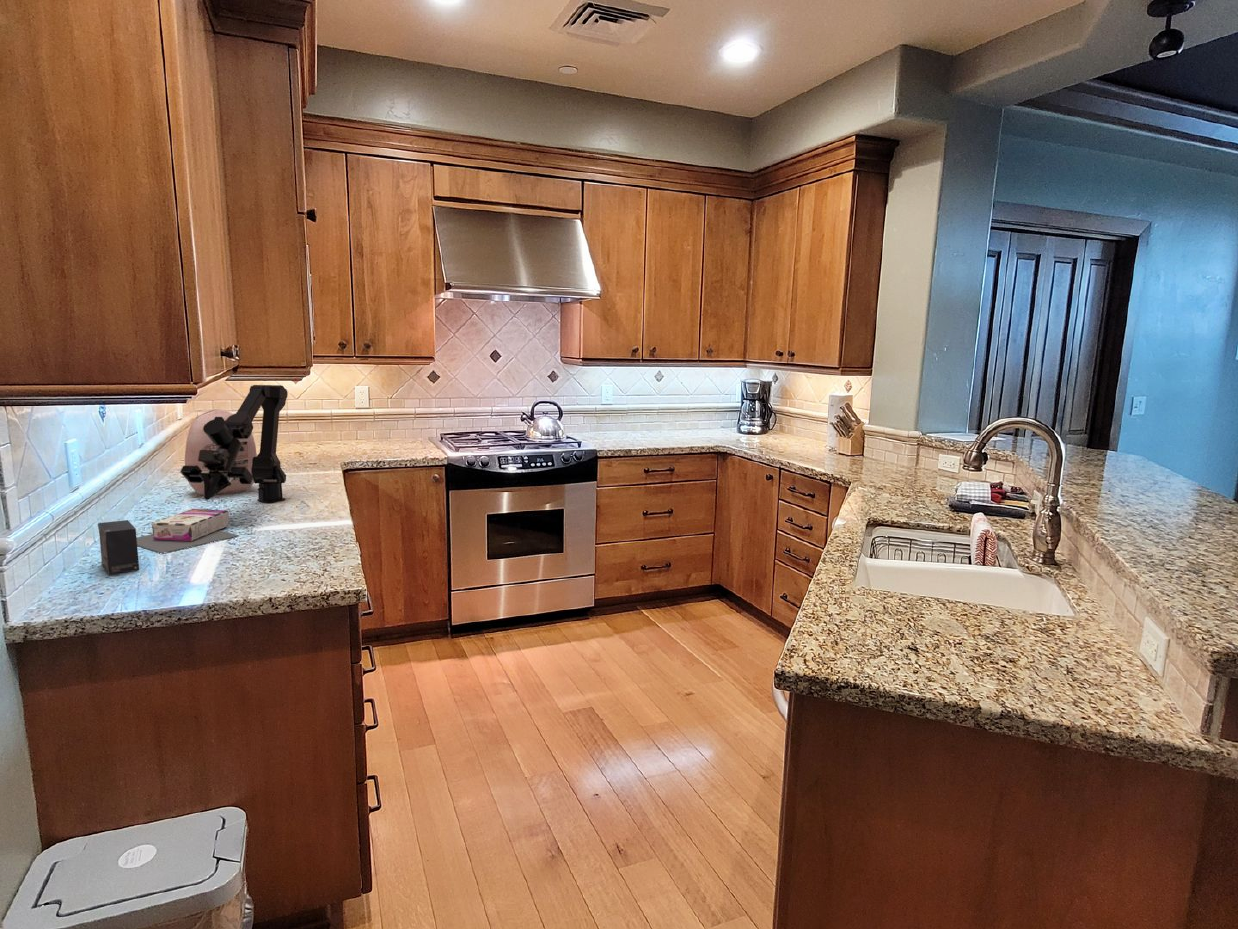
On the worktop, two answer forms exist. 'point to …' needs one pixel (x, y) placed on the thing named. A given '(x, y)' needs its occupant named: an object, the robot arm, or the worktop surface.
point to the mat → (180, 542)
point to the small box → (118, 546)
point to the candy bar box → (190, 525)
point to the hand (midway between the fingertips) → (206, 498)
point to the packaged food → (202, 442)
